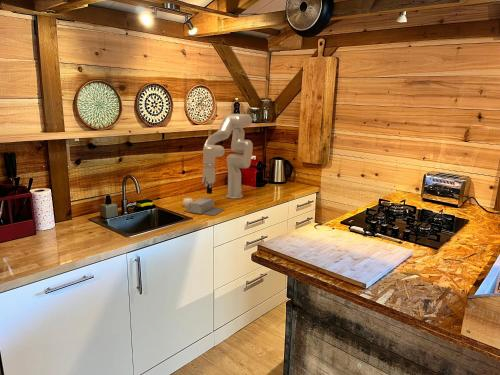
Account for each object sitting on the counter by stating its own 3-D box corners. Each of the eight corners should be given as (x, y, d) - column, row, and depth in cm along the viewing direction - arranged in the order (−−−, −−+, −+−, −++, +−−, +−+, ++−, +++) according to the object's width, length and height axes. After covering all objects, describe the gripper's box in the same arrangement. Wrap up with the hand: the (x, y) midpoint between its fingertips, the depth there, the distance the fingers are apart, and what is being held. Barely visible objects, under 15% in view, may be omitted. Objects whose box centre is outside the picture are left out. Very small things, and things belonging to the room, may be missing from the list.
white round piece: (186, 204, 259) (186, 197, 258) (194, 205, 257) (194, 198, 256) (181, 206, 254) (181, 199, 253) (189, 207, 252) (189, 200, 250)
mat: (195, 205, 256) (195, 205, 256) (225, 209, 248) (225, 209, 248) (183, 211, 243) (183, 211, 242) (214, 216, 235) (214, 215, 235)
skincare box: (203, 206, 254) (189, 213, 240) (203, 195, 252) (189, 202, 239) (214, 208, 250) (201, 215, 237) (214, 197, 248) (200, 204, 235)
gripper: (209, 163, 254) (209, 190, 258) (198, 167, 240) (198, 195, 244) (219, 164, 251) (219, 191, 255) (209, 168, 238) (209, 196, 242)
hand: (209, 193), depth 250 cm, fingers closed
